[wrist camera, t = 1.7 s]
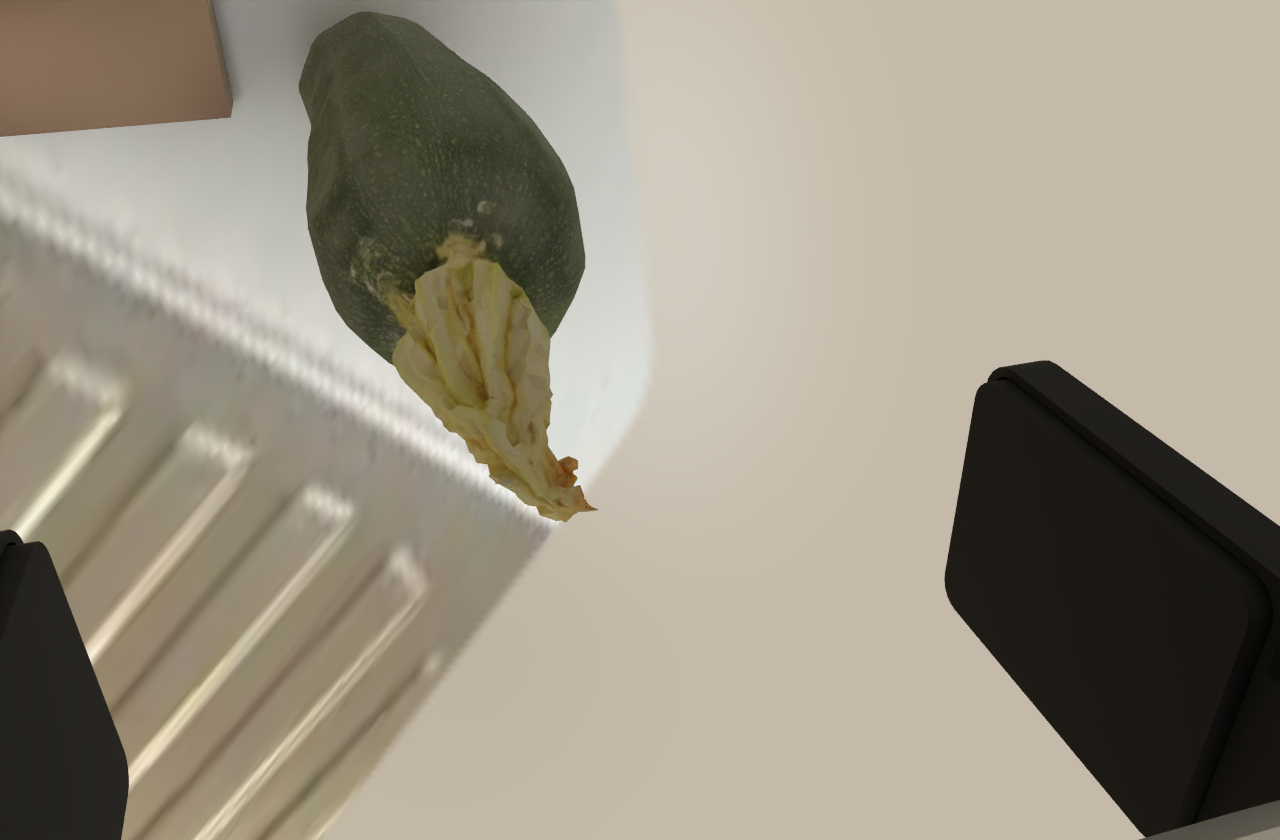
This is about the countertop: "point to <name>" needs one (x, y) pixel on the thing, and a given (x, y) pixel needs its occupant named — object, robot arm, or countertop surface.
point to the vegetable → (445, 239)
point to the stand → (109, 64)
